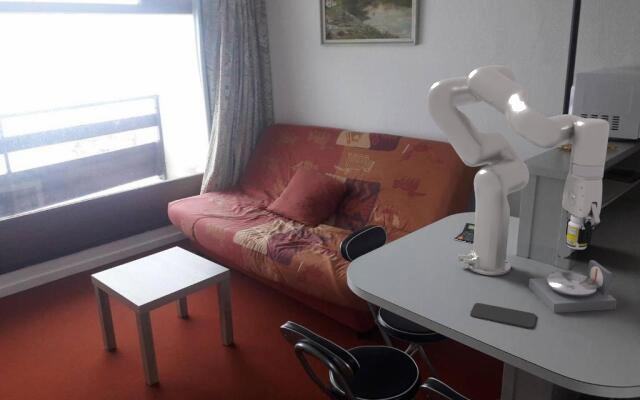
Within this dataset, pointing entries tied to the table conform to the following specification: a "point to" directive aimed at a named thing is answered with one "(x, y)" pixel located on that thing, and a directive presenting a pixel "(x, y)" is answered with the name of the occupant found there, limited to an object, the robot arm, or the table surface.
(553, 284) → the scale pan
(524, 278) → the table surface
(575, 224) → the supplement bottle
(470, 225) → the calculator
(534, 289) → the scale
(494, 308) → the phone
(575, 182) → the robot arm
